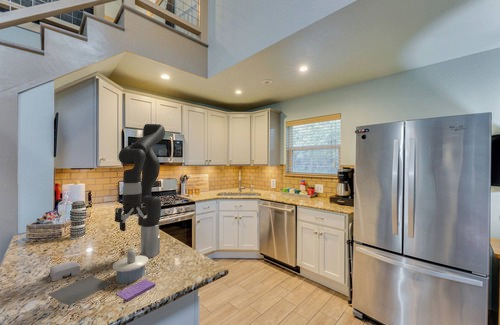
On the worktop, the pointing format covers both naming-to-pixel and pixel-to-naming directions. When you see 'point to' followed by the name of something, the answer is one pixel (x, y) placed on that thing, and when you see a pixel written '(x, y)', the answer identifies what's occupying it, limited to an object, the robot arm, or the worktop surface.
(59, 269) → the charger
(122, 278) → the bowl
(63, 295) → the mat
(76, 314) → the worktop surface
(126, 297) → the sponges
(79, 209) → the decorative candle
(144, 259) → the lid
